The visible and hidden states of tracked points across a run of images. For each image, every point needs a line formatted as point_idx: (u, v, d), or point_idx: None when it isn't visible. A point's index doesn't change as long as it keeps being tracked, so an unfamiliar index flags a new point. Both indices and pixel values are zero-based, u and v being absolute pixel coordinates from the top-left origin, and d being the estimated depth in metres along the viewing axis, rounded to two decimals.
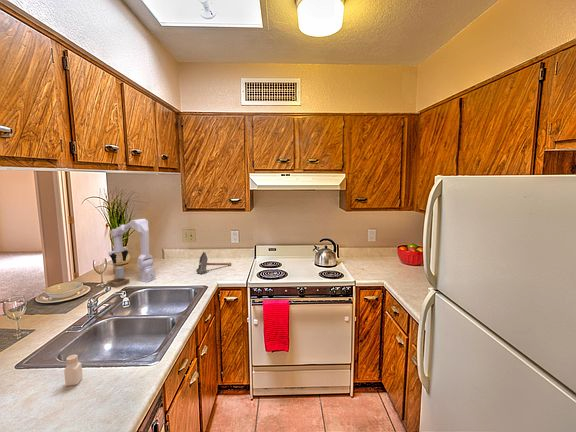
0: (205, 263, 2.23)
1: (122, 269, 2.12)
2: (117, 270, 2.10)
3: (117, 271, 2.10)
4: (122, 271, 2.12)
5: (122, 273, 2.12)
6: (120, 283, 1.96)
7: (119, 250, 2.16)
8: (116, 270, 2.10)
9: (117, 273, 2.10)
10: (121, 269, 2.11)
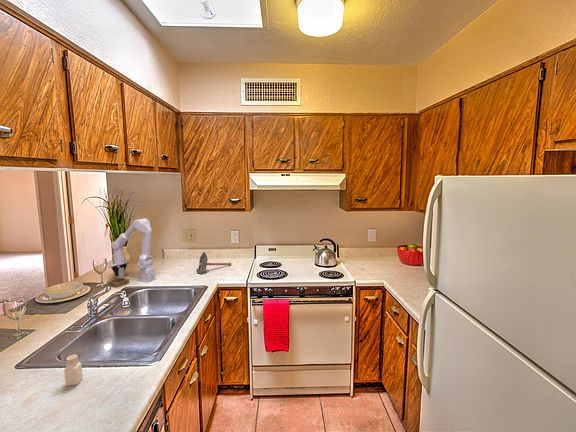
0: (205, 263, 2.23)
1: (122, 269, 2.12)
2: None
3: None
4: (122, 271, 2.12)
5: (122, 273, 2.12)
6: (120, 283, 1.96)
7: (119, 263, 2.09)
8: None
9: None
10: (121, 269, 2.11)
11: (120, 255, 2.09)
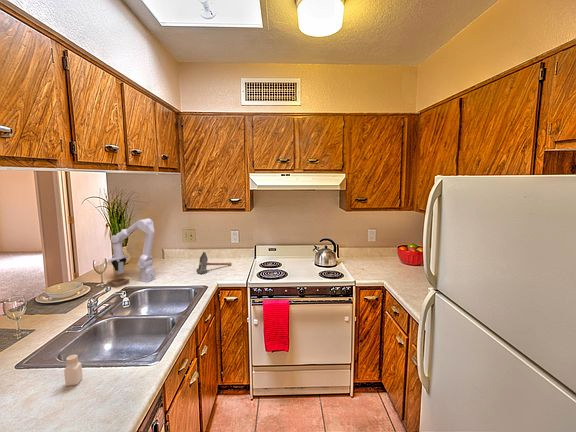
0: (205, 263, 2.23)
1: (122, 263, 2.11)
2: None
3: None
4: (122, 265, 2.11)
5: (122, 267, 2.11)
6: (120, 283, 1.96)
7: (119, 257, 2.08)
8: None
9: None
10: (121, 263, 2.10)
11: (120, 249, 2.08)
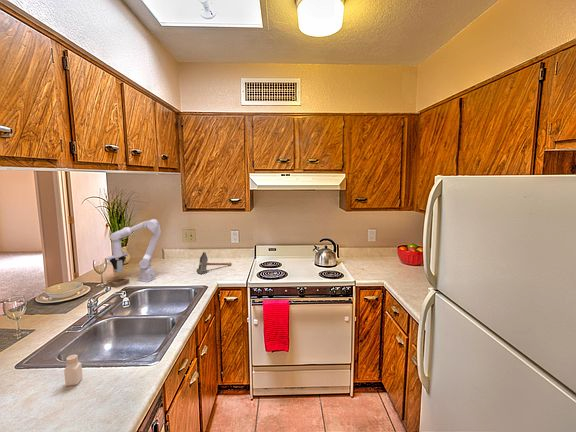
0: (205, 263, 2.23)
1: (120, 262, 2.04)
2: None
3: None
4: (120, 264, 2.04)
5: (120, 266, 2.04)
6: (120, 283, 1.96)
7: (118, 255, 2.01)
8: None
9: None
10: (119, 262, 2.03)
11: (120, 247, 2.02)
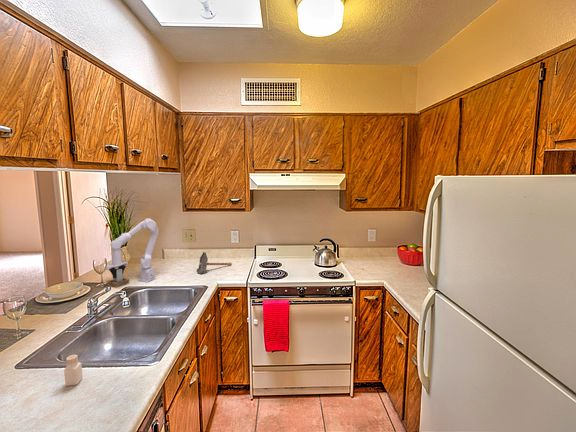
0: (205, 263, 2.23)
1: (120, 271, 1.99)
2: None
3: None
4: (120, 273, 1.99)
5: (120, 275, 1.99)
6: (120, 283, 1.96)
7: (117, 264, 1.96)
8: None
9: None
10: (119, 271, 1.98)
11: (120, 255, 1.98)
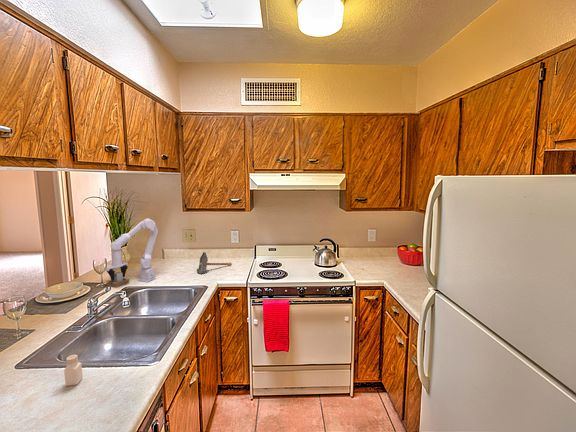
0: (205, 263, 2.23)
1: (121, 275, 1.99)
2: (115, 275, 1.97)
3: (115, 276, 1.97)
4: (121, 277, 1.99)
5: (121, 279, 1.99)
6: (120, 283, 1.96)
7: (118, 265, 1.96)
8: (114, 276, 1.97)
9: (115, 279, 1.97)
10: (120, 275, 1.98)
11: (120, 256, 1.98)
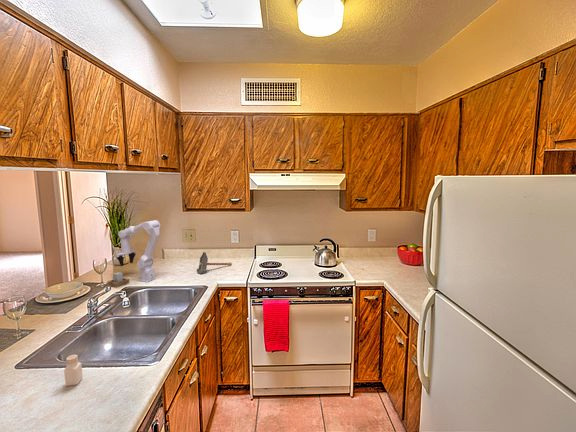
0: (205, 263, 2.23)
1: (121, 275, 1.99)
2: (115, 275, 1.97)
3: (115, 276, 1.97)
4: (121, 277, 1.99)
5: (121, 279, 1.99)
6: (120, 283, 1.96)
7: (126, 252, 2.10)
8: (114, 276, 1.97)
9: (115, 279, 1.97)
10: (120, 275, 1.98)
11: (126, 244, 2.09)
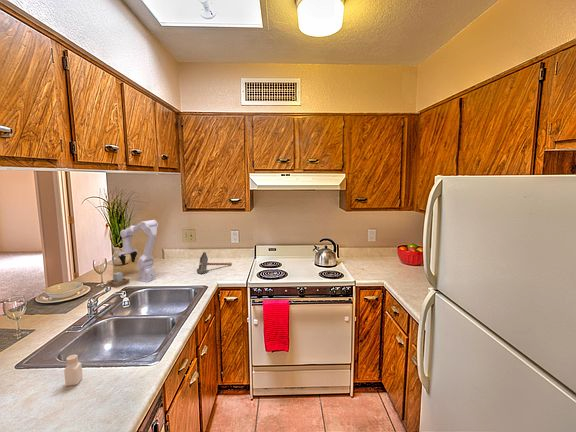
0: (205, 263, 2.23)
1: (121, 275, 1.99)
2: (115, 275, 1.97)
3: (115, 276, 1.97)
4: (121, 277, 1.99)
5: (121, 279, 1.99)
6: (120, 283, 1.96)
7: (128, 251, 2.12)
8: (114, 276, 1.97)
9: (115, 279, 1.97)
10: (120, 275, 1.98)
11: (128, 244, 2.12)
